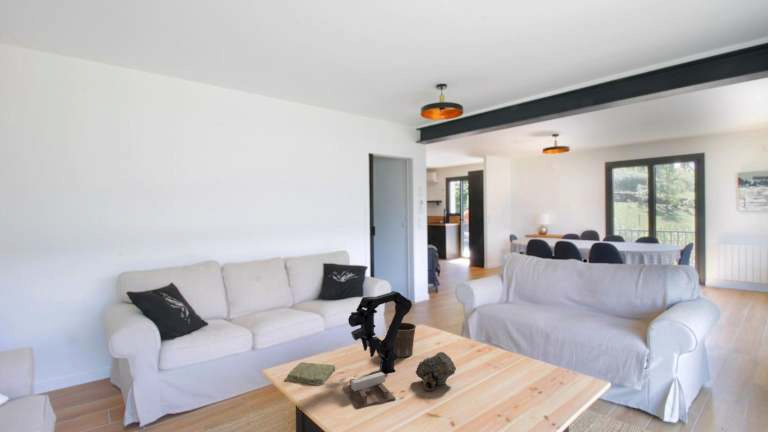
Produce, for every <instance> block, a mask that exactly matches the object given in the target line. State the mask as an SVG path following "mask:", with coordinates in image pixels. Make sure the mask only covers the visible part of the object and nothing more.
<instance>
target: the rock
mask: <svg viewBox="0 0 768 432" xmlns="http://www.w3.org/2000/svg"><path fill="white" fill-rule="evenodd" d="M456 370H457V368H456V366H455V363H454V361H452V358H451V357H450V356H449V355H448V354H446V353H445V352H442V351H440V352H437V353H436V354H435V355H433V356H430V357H427V358H424V359H423V360H422V361H420V362H419V364H418V365H417V367H416V370H415V374H416V375H417V377H418V378H419V379H421V380H422V386H423V388H424V389H425V391H428V392H431V391H433V390H434V389H435V385H438V386H439V385H440V386H441V385H445V383H447V380H448V378H450V377H451V376H453V375H454V374H455V372H456Z"/></svg>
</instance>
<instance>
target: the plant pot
mask: <svg viewBox="0 0 768 432" xmlns="http://www.w3.org/2000/svg"><path fill="white" fill-rule="evenodd" d="M389 327H390V324H389V325H388V326H387V328H388V329H389ZM416 327H417V326H416V325H415V323H414V324H413V323H410V322H401V325H400V327H399V330H398V332H397V335H396V337H395V340H394V350H393V352H394V353H395V354H396V355H397V358H407V357H411V356H412V355H413V354H414V340H415V334H416Z"/></svg>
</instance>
